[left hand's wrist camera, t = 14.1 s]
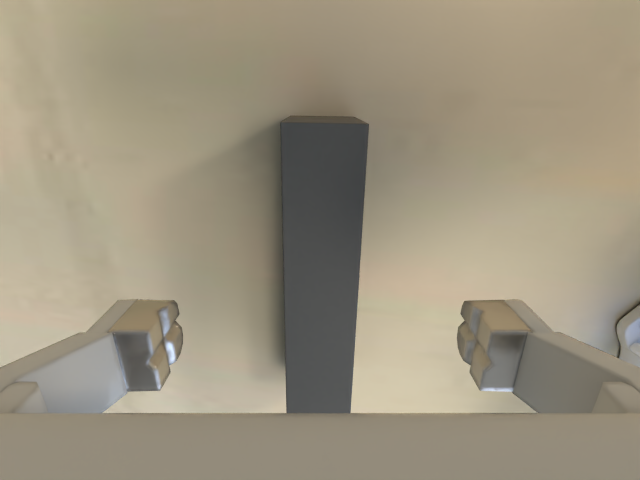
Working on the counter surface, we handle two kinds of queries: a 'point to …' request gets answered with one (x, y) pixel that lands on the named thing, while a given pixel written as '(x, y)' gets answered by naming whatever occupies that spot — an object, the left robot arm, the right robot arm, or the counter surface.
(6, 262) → the counter surface
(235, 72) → the counter surface
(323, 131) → the bar
